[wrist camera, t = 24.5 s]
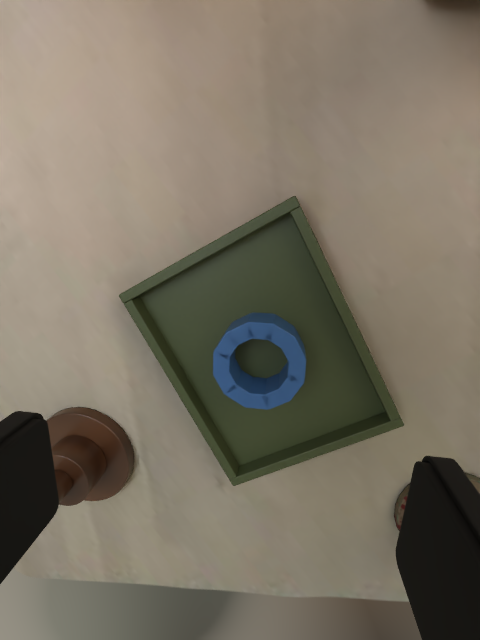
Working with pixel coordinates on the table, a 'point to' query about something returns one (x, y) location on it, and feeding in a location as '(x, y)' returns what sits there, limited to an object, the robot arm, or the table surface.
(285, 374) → the ring
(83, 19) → the table surface
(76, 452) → the stand
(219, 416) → the tray
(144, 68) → the table surface
